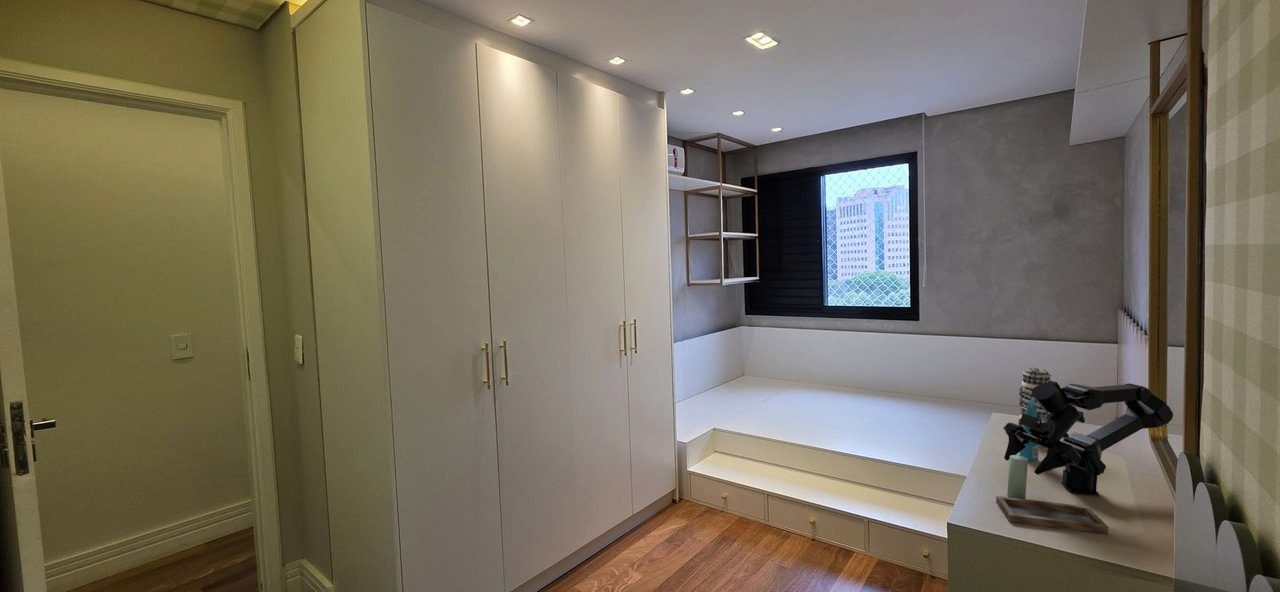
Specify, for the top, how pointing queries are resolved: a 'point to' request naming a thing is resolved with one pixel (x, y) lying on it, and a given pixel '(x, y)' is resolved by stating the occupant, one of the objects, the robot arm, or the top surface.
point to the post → (1017, 477)
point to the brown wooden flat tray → (1051, 515)
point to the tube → (1031, 448)
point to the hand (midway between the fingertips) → (1020, 466)
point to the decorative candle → (1031, 380)
